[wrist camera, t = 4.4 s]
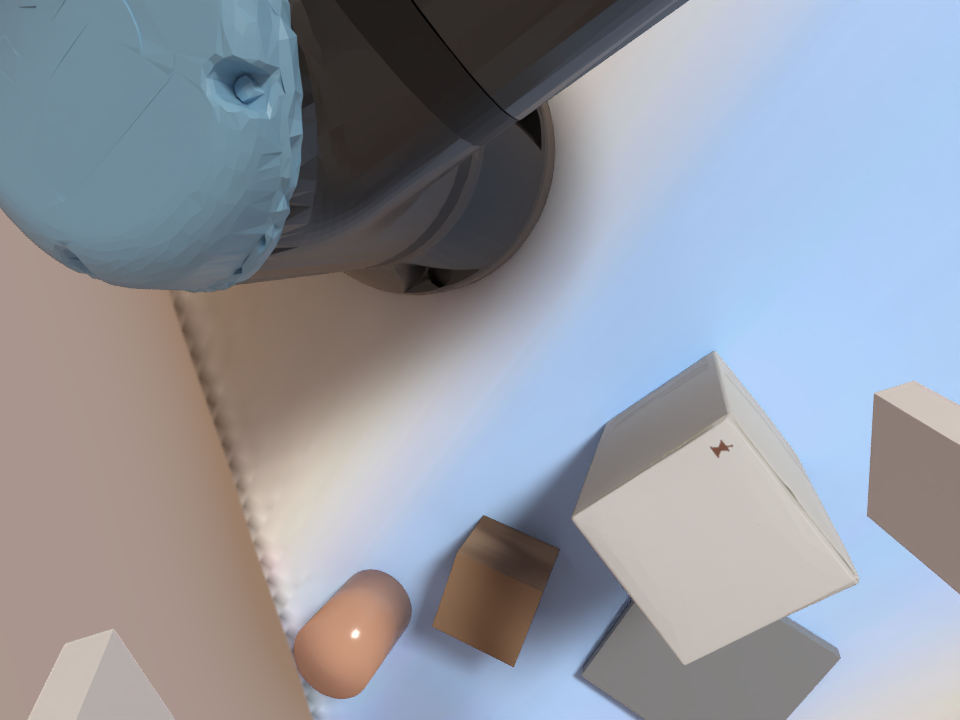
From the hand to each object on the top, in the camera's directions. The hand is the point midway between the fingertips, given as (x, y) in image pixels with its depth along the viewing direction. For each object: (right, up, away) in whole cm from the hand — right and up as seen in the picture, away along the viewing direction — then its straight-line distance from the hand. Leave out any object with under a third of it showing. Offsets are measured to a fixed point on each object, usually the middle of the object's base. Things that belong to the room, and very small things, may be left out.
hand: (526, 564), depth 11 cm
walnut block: (+1, -9, +29) cm, 30 cm away
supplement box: (+11, -1, +24) cm, 26 cm away
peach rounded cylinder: (-8, -13, +32) cm, 35 cm away
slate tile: (+12, -14, +26) cm, 32 cm away
